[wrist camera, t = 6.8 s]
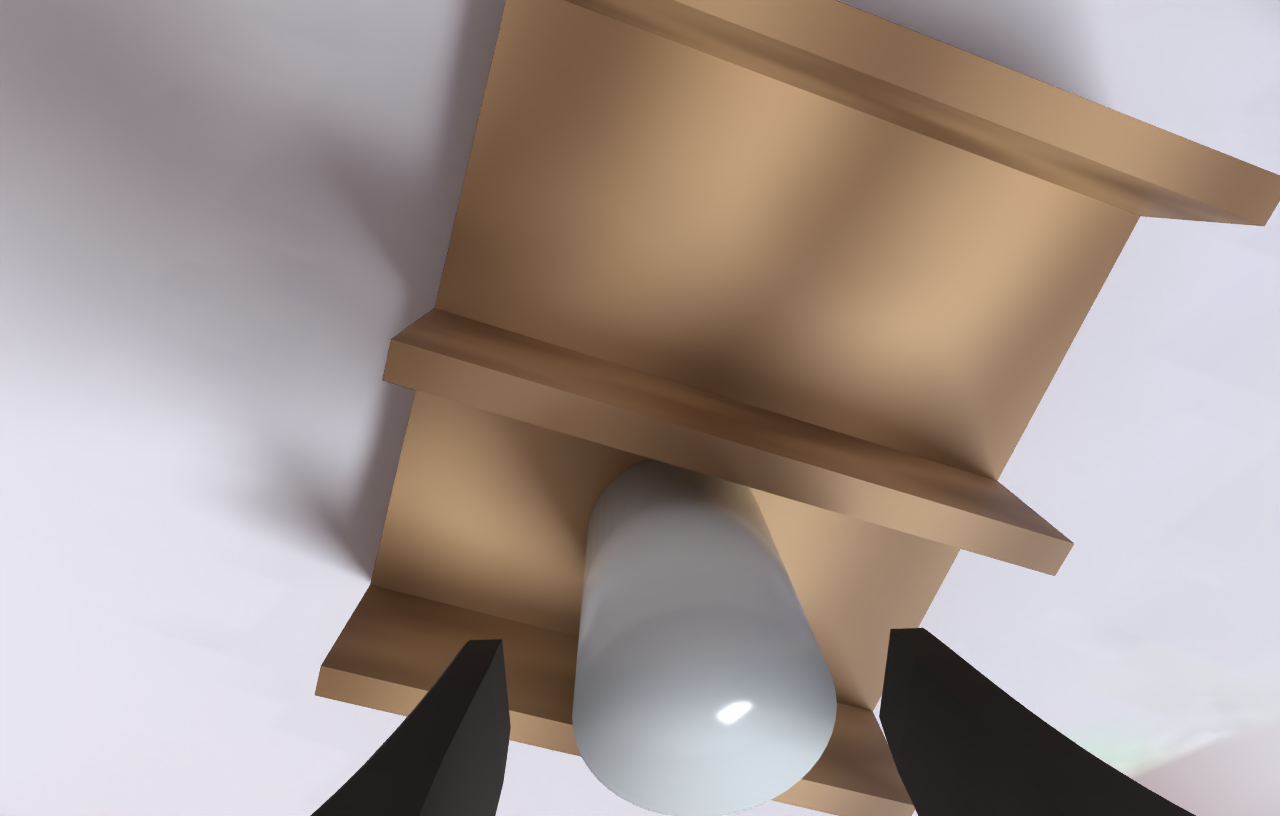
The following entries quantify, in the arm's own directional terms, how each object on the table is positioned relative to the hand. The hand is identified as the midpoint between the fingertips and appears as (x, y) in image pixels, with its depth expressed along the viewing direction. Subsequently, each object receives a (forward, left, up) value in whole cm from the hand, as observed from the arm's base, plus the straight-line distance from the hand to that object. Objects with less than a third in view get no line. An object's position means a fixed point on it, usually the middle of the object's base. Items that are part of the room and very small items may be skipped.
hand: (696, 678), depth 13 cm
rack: (0, -4, -6) cm, 7 cm away
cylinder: (0, 0, -5) cm, 5 cm away
